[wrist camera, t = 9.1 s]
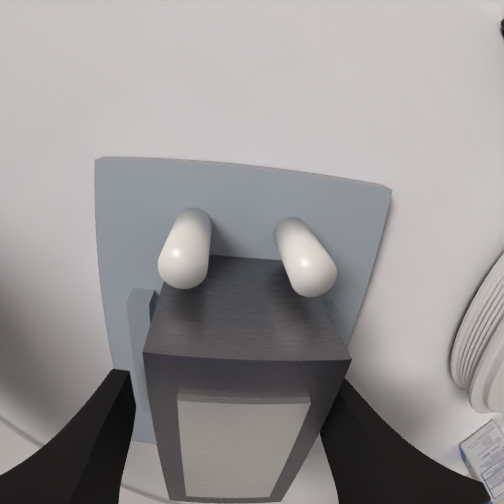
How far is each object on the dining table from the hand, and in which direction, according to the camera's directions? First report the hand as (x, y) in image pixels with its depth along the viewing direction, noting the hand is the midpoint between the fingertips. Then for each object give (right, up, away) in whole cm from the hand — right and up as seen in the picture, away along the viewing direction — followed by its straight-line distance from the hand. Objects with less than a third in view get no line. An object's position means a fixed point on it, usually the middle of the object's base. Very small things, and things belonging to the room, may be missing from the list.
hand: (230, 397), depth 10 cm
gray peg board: (0, +1, +3) cm, 3 cm away
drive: (0, +1, +2) cm, 2 cm away
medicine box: (+26, -16, +13) cm, 32 cm away
